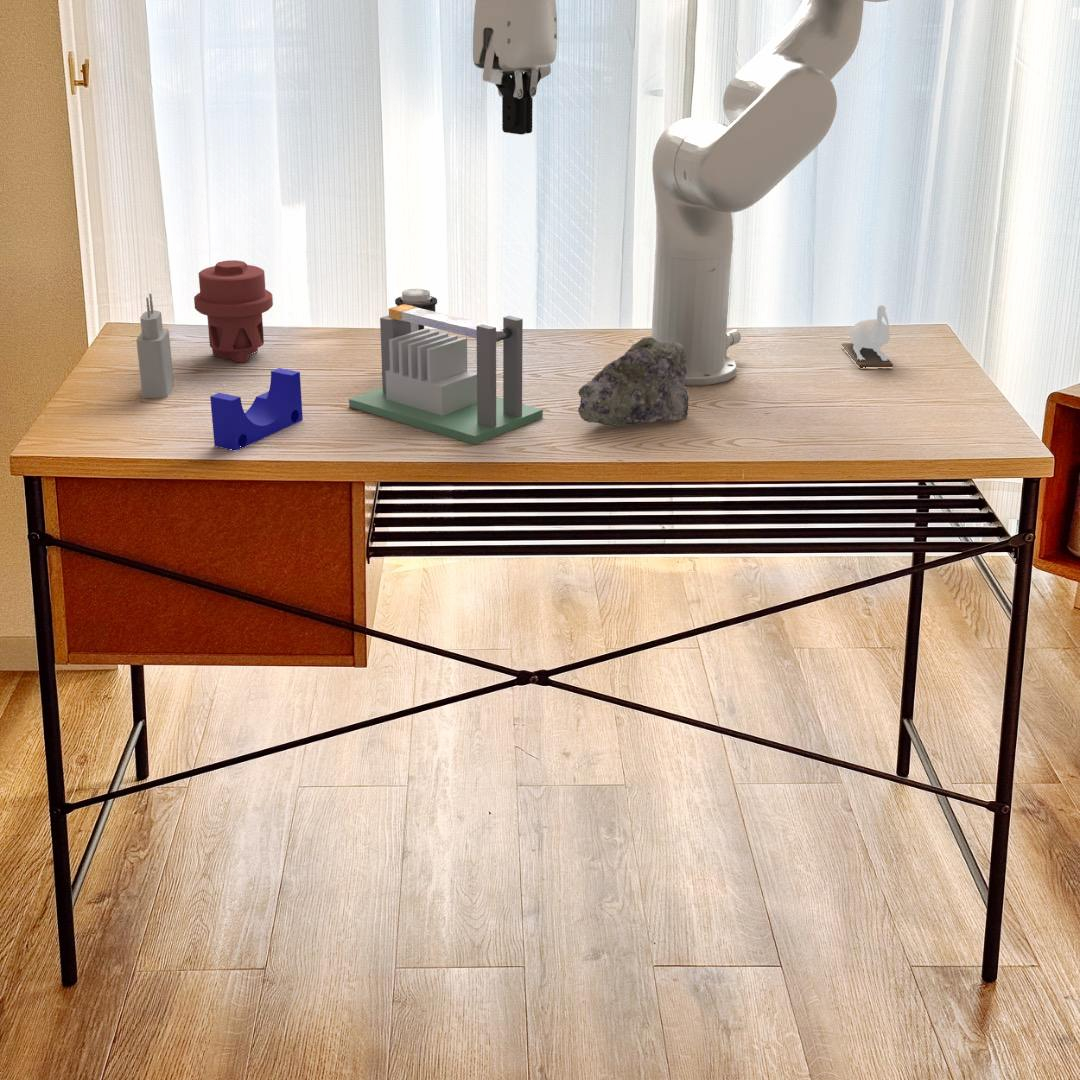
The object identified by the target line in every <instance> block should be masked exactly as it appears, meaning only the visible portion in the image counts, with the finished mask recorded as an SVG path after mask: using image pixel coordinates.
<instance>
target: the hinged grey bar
mask: <svg viewBox="0 0 1080 1080" xmlns="http://www.w3.org/2000/svg"><path fill="white" fill-rule="evenodd" d="M388 315H389V318H392V319H396V320H400V321H402V320H403V321H407V322H411V323H415V324H419V325H423V326H424V327H426V328H428V327H429V328H432V329H436V330H440V331H444V332H448V333H453V334H455V335H456V334H457V335H461V336H466V337H470V338H474V339H477V328H476V326H478V325H481V324H484V325H489V326H493V327H496V343H498V342H502V341H503V340H504V339H507V338H510V337H511V336H512V331H511V330H510V328H503V326H502V327H501V326H497V325H493V324H489V323H485V322H481V321H475V320H473V319H472V320H471V319H468V318H463V317H460V316H454V315H451V314H445V313H442V312H437V311H435V312H434V311H430V310H425V309H421V308H417V307H415V306H411V305H406V304H403V305H399V306H397V305H396V306H393V307H389V308H388Z"/></svg>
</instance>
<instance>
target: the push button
mask: <svg viewBox="0 0 1080 1080" xmlns="http://www.w3.org/2000/svg"><path fill="white" fill-rule="evenodd" d="M394 304H395V305H396V306H399V305H403V304H406V305H411V306H415V307H417V308H421V309H425V310H430V311H434V312H436V305H437V304H438V299H437V298H436V297H435V296H432V295H431V292H430V290H427V289H423V288H411V289H405V290H403V291H402V292H401V296H399V297H397V298H395V299H394ZM422 329H425V326H423V325H419V324H415V323H411V322H410V333H412V332H415V331H419V330H422Z"/></svg>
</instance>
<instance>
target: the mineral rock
mask: <svg viewBox="0 0 1080 1080" xmlns="http://www.w3.org/2000/svg"><path fill="white" fill-rule="evenodd" d="M685 363H686V352H685V350H684V348H683V346H682V345H681V344H680V343H679V342H674V341H672V342H665V343H659V342H658V341H656V340H655V339H653V338H652V336H649V337H648V336H646V337H642V338H640V340H638V341H637V342H636V343H633V344H632V345H631V346H630V347H629V349H628V350H627V351H625V353H624V354H623V355H622V356H619V357H618V358H617V359H615V360H613V361H611V362H609V363H608V364H606V365H604V367H603V368H602V369H601V370H600V371H599V372H598V373H596V375H594V377H593V378H592V379H591V380H590V381H588V382H586V383H584V384H583V385H582V386H581V387H579V390H578V396H579V397H580V401H579V402H580V404H579V407H578V408H577V409H578V410H577V412H578V414H579V416H580V418H581V419H582V420H583V421H585V422H586V423H591V424H592V423H594V424H599V425H600V424H601V425H609V426H610V425H613V426H622V427H624V426H628V425H629V426H630V425H640V424H647V423H652V422H654V421H655V422H662V421H665V422H666V421H682V420H683V419H687V417H688V415H689V412H688V411H689V406H690V405H689V399H690V397H689V393H688V392H689V391H688V390H687V388H686V385H685V384H684V382H685V375H686V374H687V371H686V366H685Z"/></svg>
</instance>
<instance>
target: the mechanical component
mask: <svg viewBox="0 0 1080 1080" xmlns="http://www.w3.org/2000/svg"><path fill="white" fill-rule="evenodd" d="M265 276H266V275H265V270H264V269H263V268H262V267H258V266H257V265H251V264H247V263H246V262H245V261H242V260H236V259H234V260H231V259H230V260H221V261H219V262H216V264H214V265H213V266H209V267H206V268H204V269H202V270H200V271H199V272H198V283H199V292H198V293H196V295H195V296H194V297H193V303H194V309H195V310H196V311H197V312H198V313H199V314H202V315H204V316H207V326H208V328H207V329H208V340H209V347H210V348H211V349H212V350H211V352H212V355H214V357H215V356H219V357H218V358H221V357H224V358H223V359H227V358H228V360H231V359H232V361H234V362H236V363H239V364H245V363H247V362H248V361H249V356H252V355H253V354H255V353H254V352H256V351H257V352H258V351H259V348H261V347H262V346H264V345H265V340H264V338H265V337H264V325H263V324H264V323H263V313H266V312H268V311H269V310H271V308H272V307H273V305H274V302H273V301H274V299H273V293H272V292H270V291H269V290H268V289H266V278H265ZM257 352H256V353H257ZM252 353H253V354H252ZM244 362H245V363H244Z"/></svg>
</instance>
